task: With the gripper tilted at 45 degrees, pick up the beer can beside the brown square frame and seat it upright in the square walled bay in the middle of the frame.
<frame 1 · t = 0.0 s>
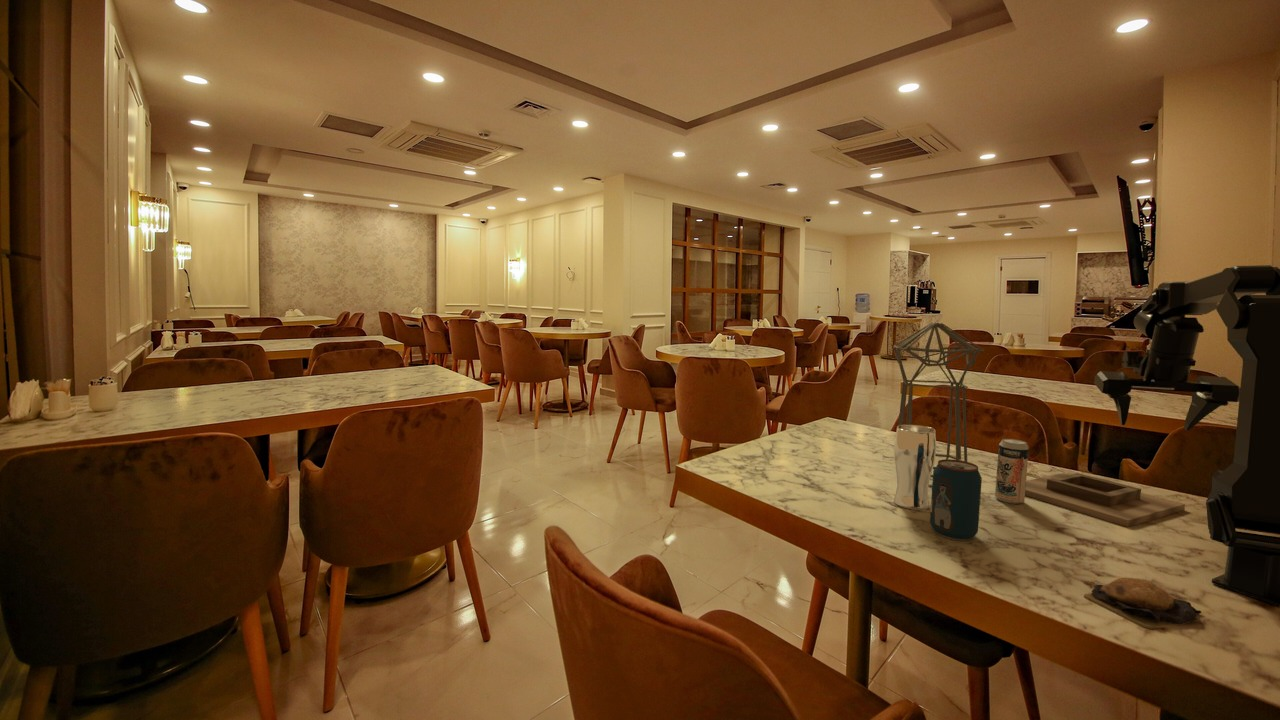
hand: (1153, 426, 99), 15 cm above the table, tool pointing down, fingers open, 9 cm apart
geometric lantern: (926, 480, 114), on the table
bread roll: (1141, 611, 66), on the table
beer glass: (911, 505, 100), on the table
brown square frame: (1091, 499, 103), on the table
soda can: (952, 534, 87), on the table
beer can: (1009, 501, 102), on the table
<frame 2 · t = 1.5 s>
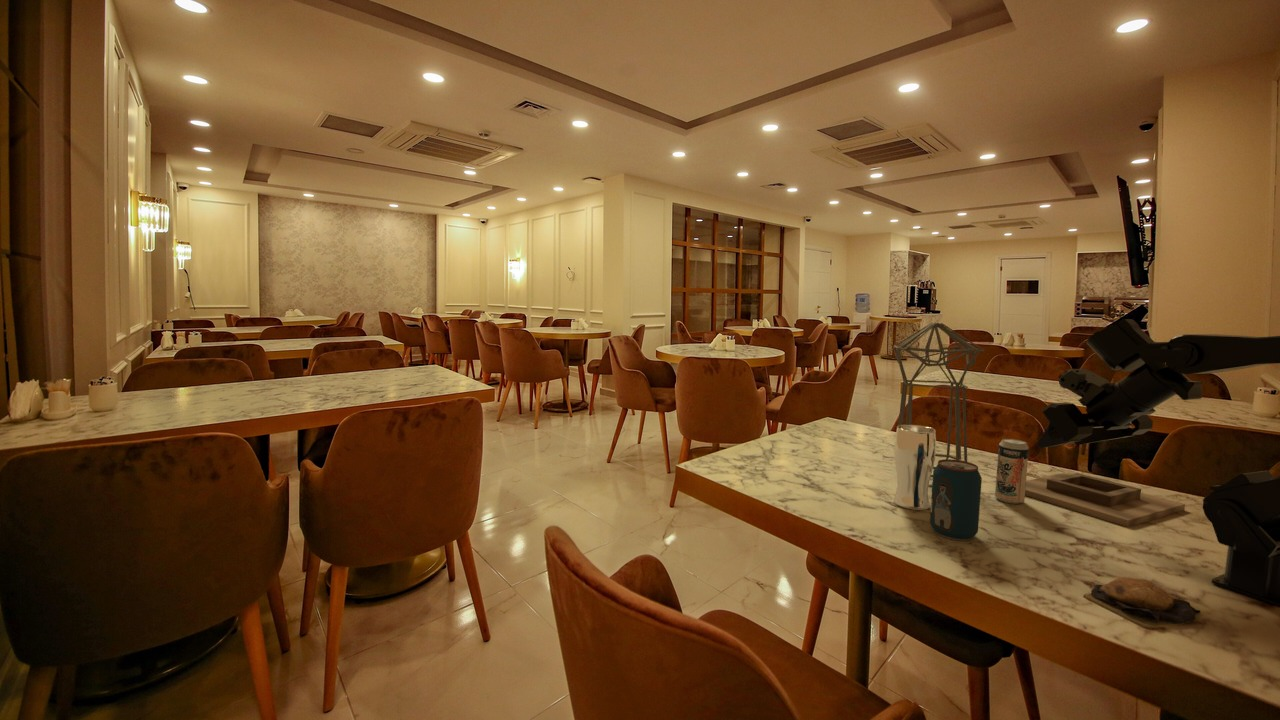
hand: (1058, 444, 93), 13 cm above the table, tool tilted 45°, fingers open, 9 cm apart
nothing on the table moved.
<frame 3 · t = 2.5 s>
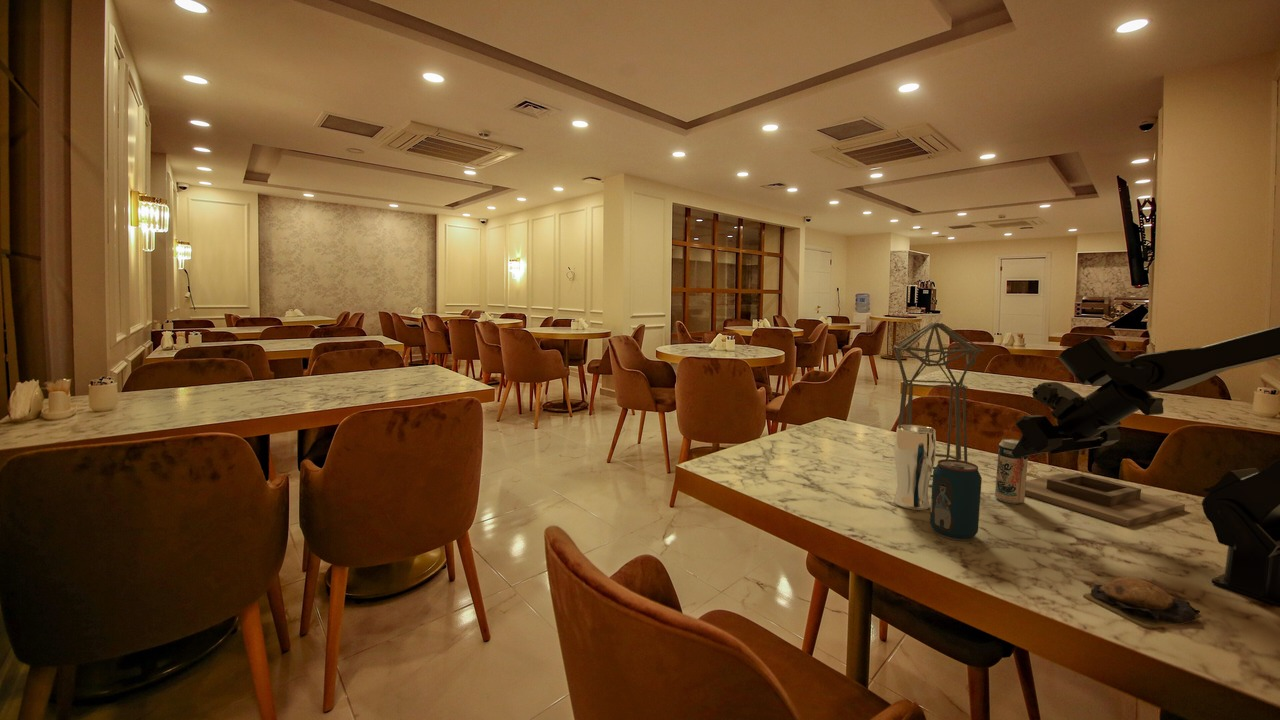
hand: (1032, 453, 98), 11 cm above the table, tool tilted 45°, fingers open, 9 cm apart
nothing on the table moved.
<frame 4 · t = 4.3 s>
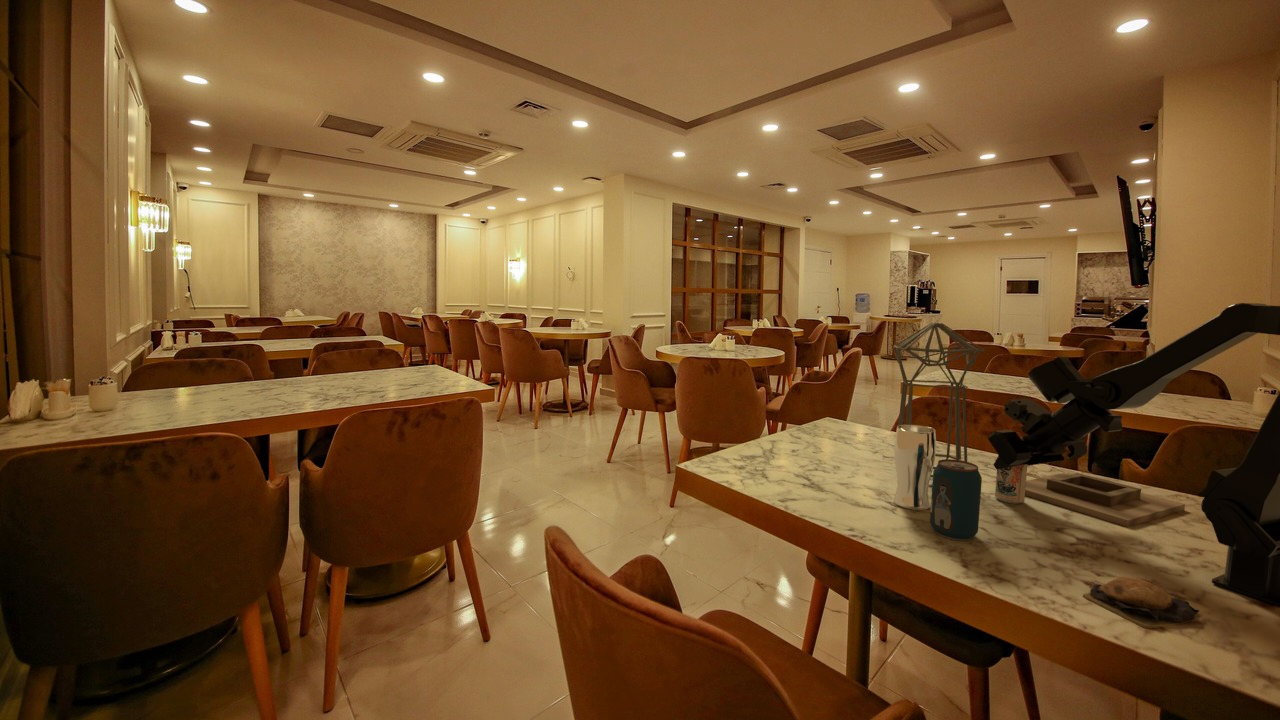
hand: (1005, 466, 103), 7 cm above the table, tool tilted 45°, fingers closed on beer can, 5 cm apart
beer can: (1009, 501, 102), on the table, touching gripper
everything else where it was.
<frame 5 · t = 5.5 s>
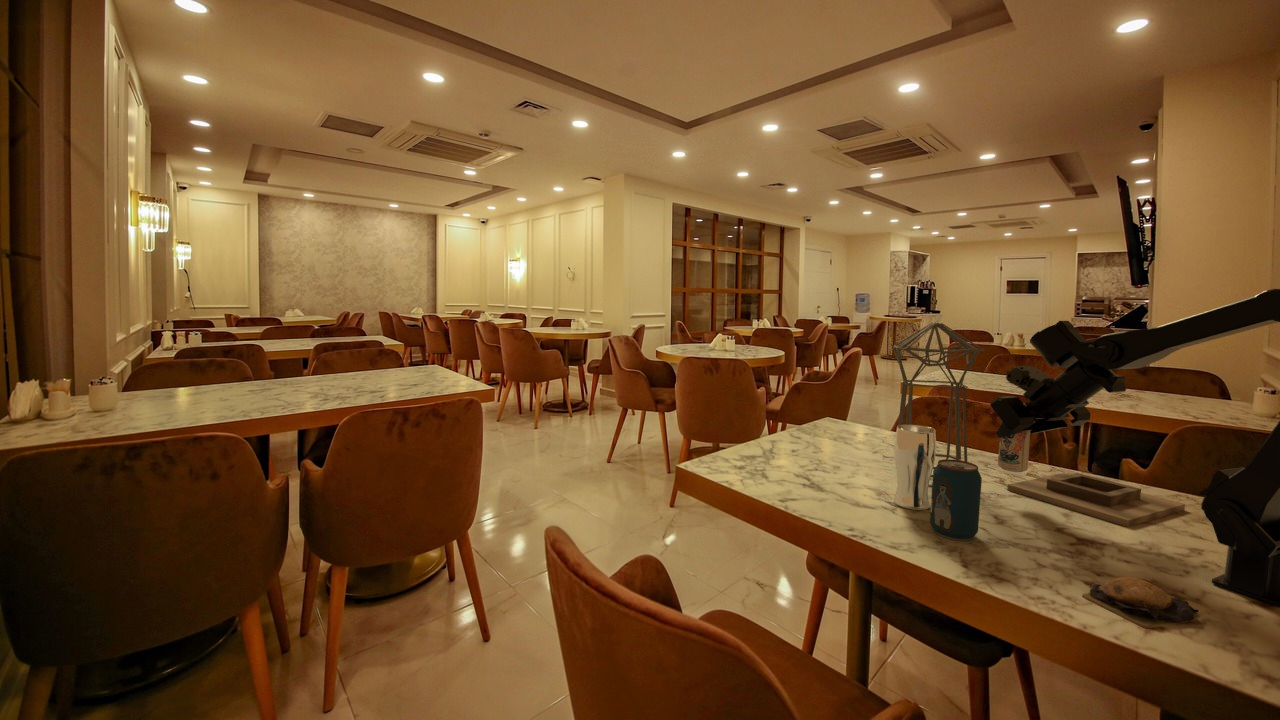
hand: (1007, 434, 102), 13 cm above the table, tool tilted 45°, fingers closed on beer can, 5 cm apart
beer can: (1012, 470, 101), point 6 cm above the table, touching gripper
everything else where it was.
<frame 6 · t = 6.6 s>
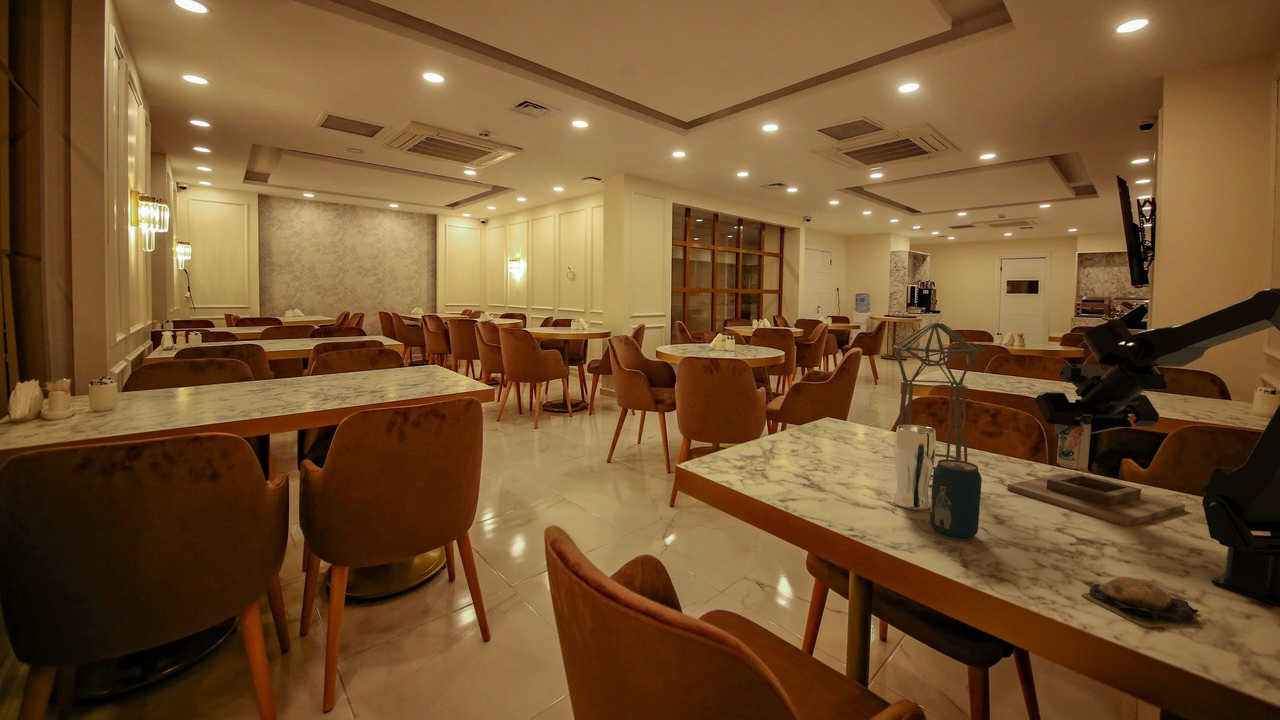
hand: (1069, 432, 104), 13 cm above the table, tool tilted 45°, fingers closed on beer can, 5 cm apart
beer can: (1071, 467, 103), point 6 cm above the table, touching gripper
everything else where it was.
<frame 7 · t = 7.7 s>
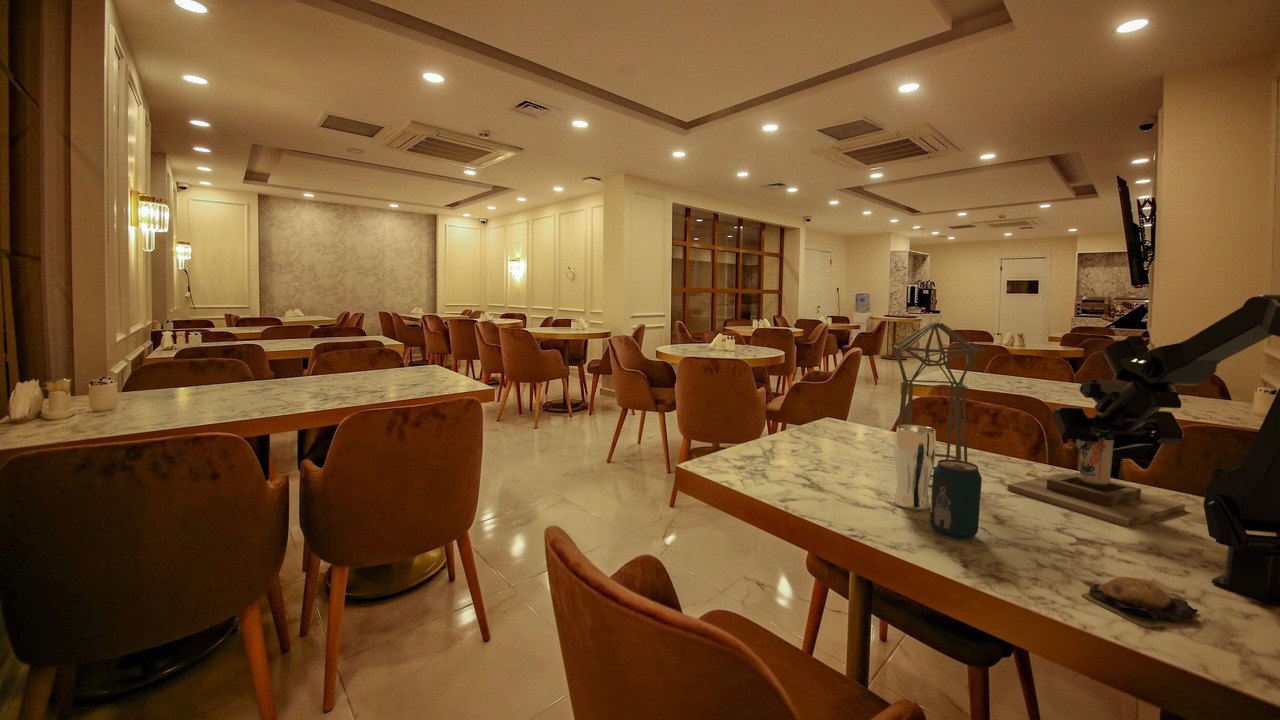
hand: (1092, 447, 103), 10 cm above the table, tool tilted 45°, fingers closed on beer can, 5 cm apart
beer can: (1093, 483, 102), point 3 cm above the table, touching gripper
everything else where it was.
when the fingers open (9 cm above the table, at t = 8.4 s): beer can stays where it is, resting on brown square frame.
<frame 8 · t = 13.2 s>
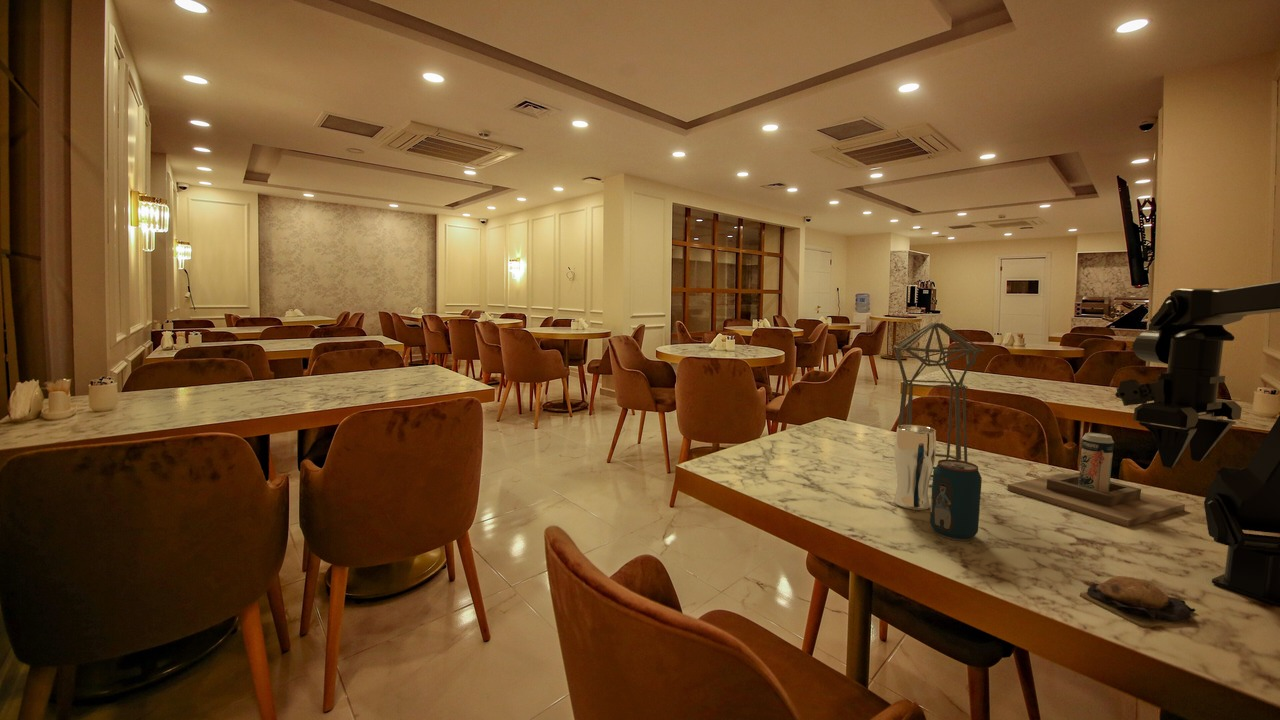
hand: (1182, 463, 83), 13 cm above the table, tool pointing down, fingers open, 9 cm apart
beer can: (1092, 494, 103), point 1 cm above the table, touching brown square frame
everything else where it was.
at the end: beer can 0.2 cm off-centre on the brown square frame, point 1.0 cm above the brown square frame's base; beer can tilted 0°; the gripper is holding nothing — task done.
